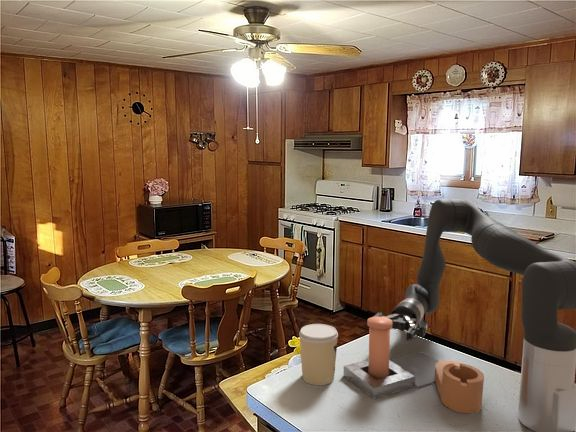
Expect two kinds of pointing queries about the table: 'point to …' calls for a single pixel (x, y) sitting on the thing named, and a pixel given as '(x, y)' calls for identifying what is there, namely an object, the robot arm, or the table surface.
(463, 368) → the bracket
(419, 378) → the mat
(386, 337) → the orange flanged cylinder
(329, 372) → the coffee cup
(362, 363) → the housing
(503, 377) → the table surface
